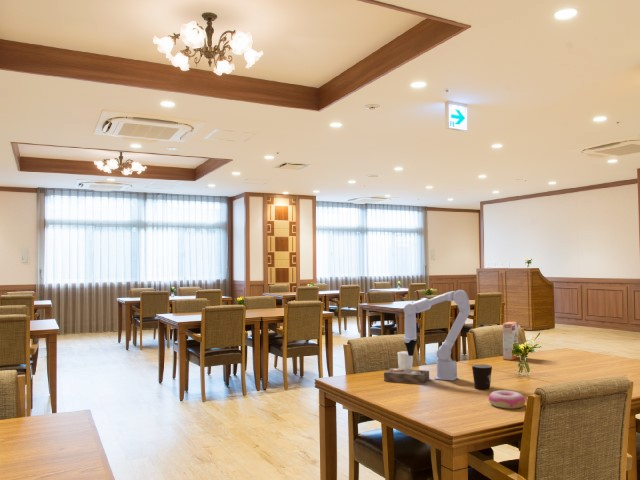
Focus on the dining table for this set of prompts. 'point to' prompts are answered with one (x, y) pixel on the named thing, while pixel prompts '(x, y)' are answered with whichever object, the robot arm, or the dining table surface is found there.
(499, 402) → the donut
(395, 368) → the plunger
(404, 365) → the white cup
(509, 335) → the cracker box
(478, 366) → the coffee mug
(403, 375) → the housing
